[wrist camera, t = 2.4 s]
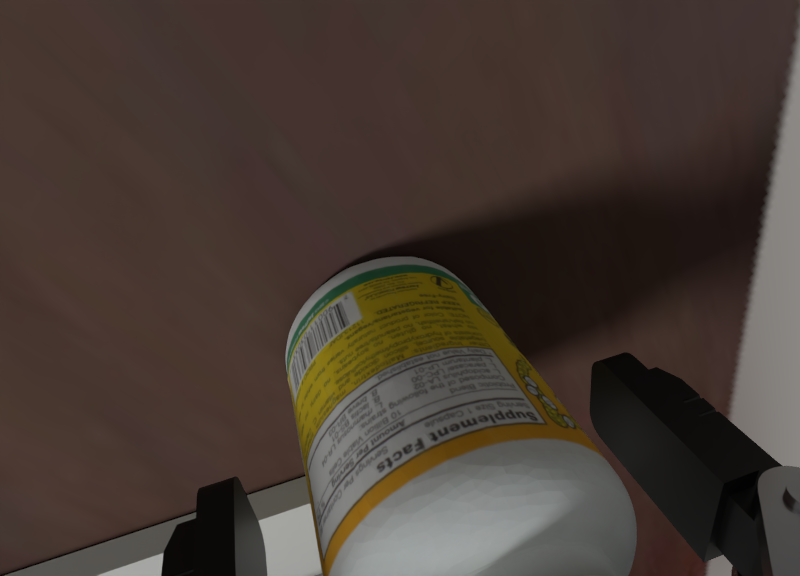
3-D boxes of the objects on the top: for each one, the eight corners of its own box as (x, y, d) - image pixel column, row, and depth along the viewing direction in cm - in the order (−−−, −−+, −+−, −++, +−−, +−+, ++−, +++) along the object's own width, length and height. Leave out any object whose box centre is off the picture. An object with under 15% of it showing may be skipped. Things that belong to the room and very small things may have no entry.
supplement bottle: (267, 270, 13) (350, 772, 5) (480, 233, 14) (836, 587, 6) (299, 436, 15) (386, 931, 7) (475, 394, 17) (712, 783, 9)
